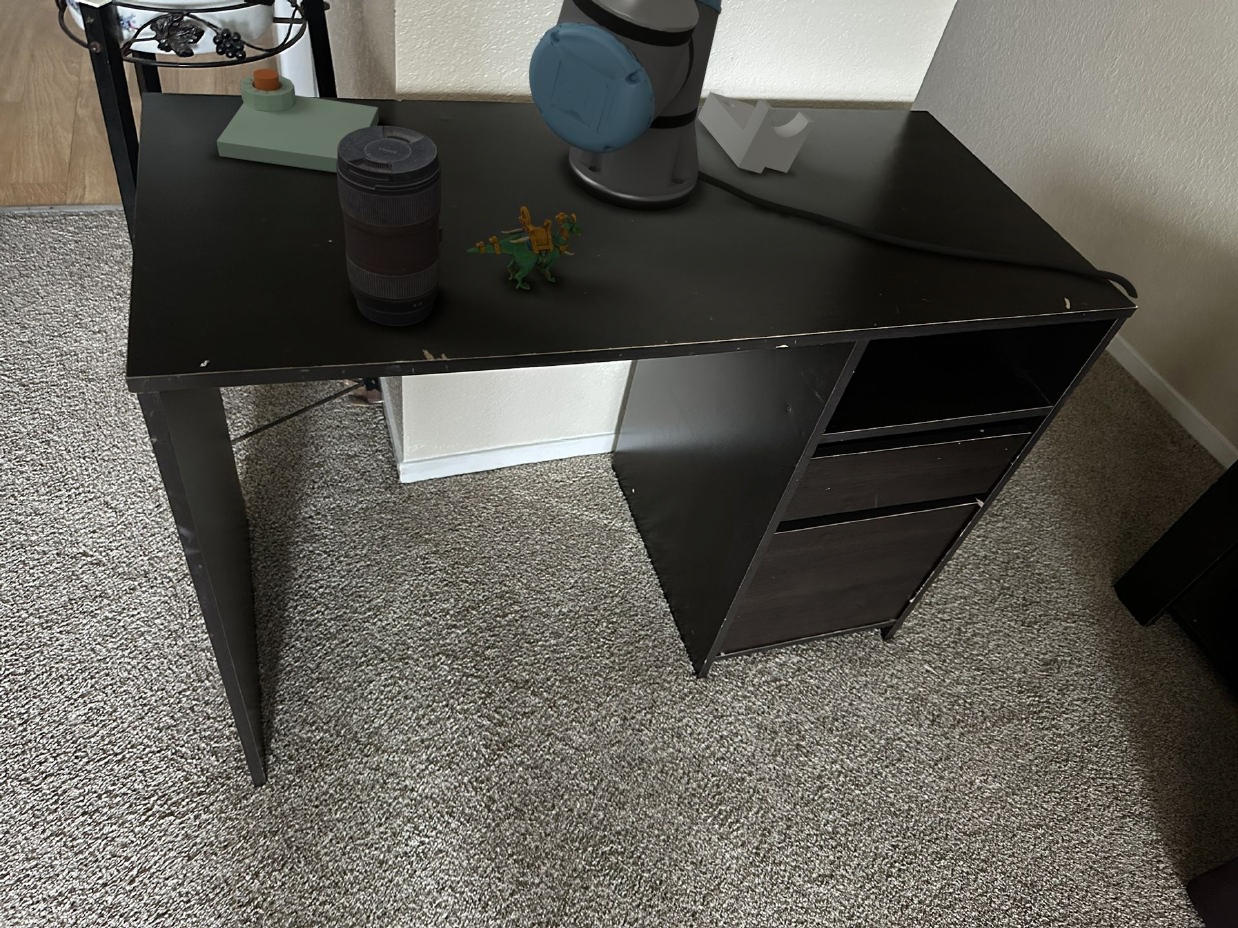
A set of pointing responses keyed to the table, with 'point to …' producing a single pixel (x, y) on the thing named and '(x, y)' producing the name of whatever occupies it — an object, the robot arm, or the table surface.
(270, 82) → the button
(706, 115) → the bracket
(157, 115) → the table surface
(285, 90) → the scale
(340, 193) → the camera lens
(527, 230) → the figurine
